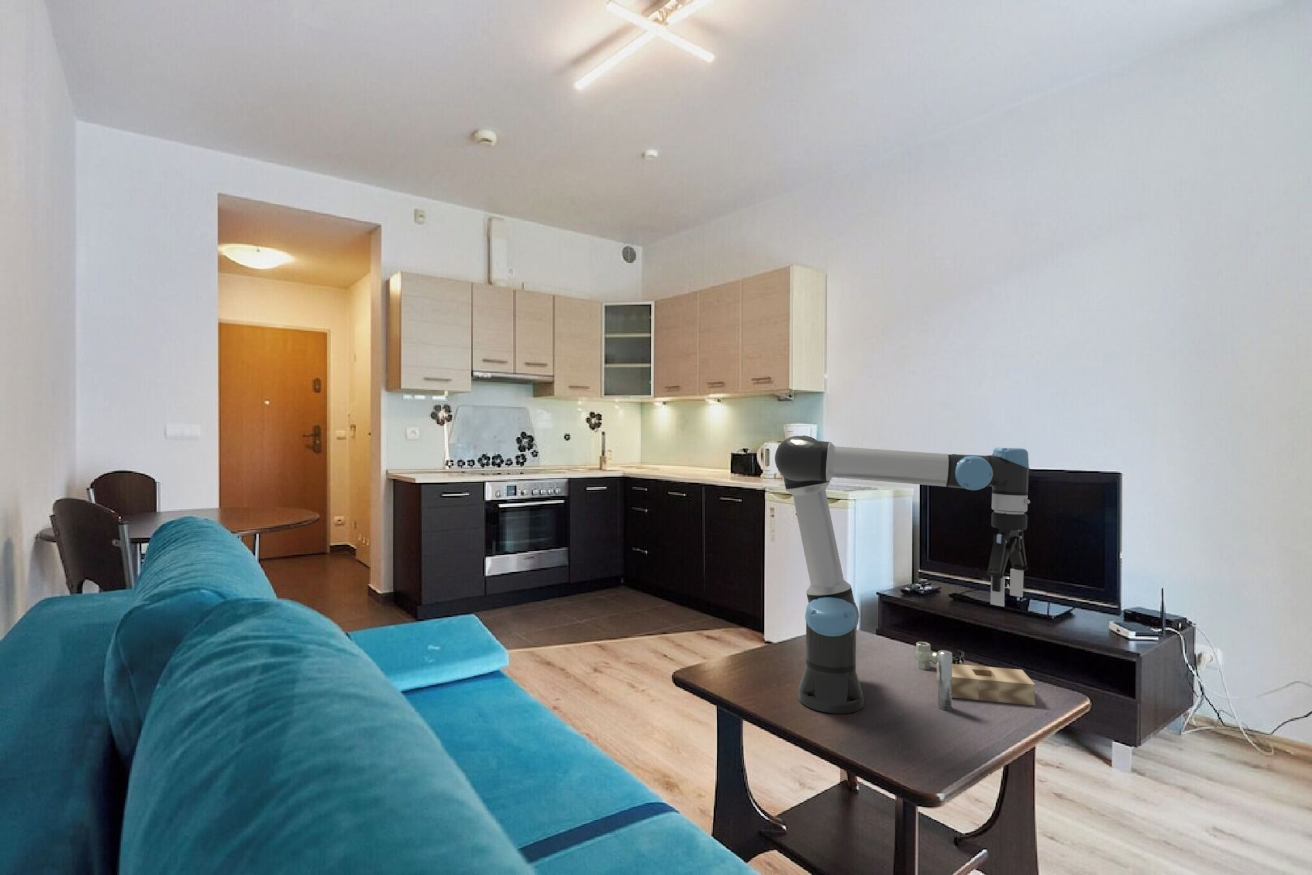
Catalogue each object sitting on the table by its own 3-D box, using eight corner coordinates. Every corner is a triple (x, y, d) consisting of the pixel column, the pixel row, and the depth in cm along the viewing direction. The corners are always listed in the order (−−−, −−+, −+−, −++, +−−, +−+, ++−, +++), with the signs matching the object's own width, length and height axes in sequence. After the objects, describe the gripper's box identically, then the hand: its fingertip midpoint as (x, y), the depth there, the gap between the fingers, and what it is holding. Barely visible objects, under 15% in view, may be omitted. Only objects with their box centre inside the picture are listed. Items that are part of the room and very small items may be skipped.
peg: (939, 709, 148) (939, 653, 148) (936, 704, 151) (937, 649, 151) (953, 711, 147) (953, 654, 147) (950, 705, 150) (950, 650, 150)
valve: (911, 668, 175) (958, 679, 167) (911, 644, 175) (958, 654, 167) (918, 662, 180) (964, 672, 172) (918, 639, 180) (964, 648, 172)
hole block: (943, 696, 156) (943, 676, 156) (936, 681, 165) (936, 662, 165) (1035, 705, 151) (1035, 684, 151) (1022, 689, 160) (1022, 669, 160)
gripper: (1009, 517, 141) (1006, 612, 141) (1042, 510, 158) (1040, 595, 158) (973, 513, 146) (971, 605, 146) (1009, 507, 163) (1007, 589, 164)
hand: (1007, 600), depth 152 cm, fingers open, 13 cm apart
